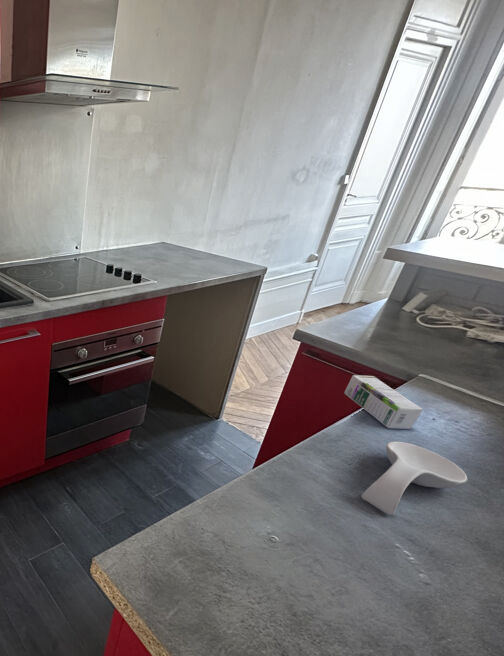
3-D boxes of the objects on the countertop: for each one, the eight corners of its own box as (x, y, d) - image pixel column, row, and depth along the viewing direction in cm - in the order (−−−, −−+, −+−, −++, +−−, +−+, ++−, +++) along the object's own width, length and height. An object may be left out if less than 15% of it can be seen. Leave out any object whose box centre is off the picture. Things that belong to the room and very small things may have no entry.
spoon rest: (391, 447, 88) (408, 420, 85) (465, 484, 79) (487, 456, 76) (339, 487, 77) (355, 458, 74) (418, 535, 68) (441, 504, 65)
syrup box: (387, 428, 94) (341, 393, 107) (412, 429, 94) (363, 393, 107) (399, 408, 92) (350, 374, 105) (425, 409, 92) (373, 375, 105)
